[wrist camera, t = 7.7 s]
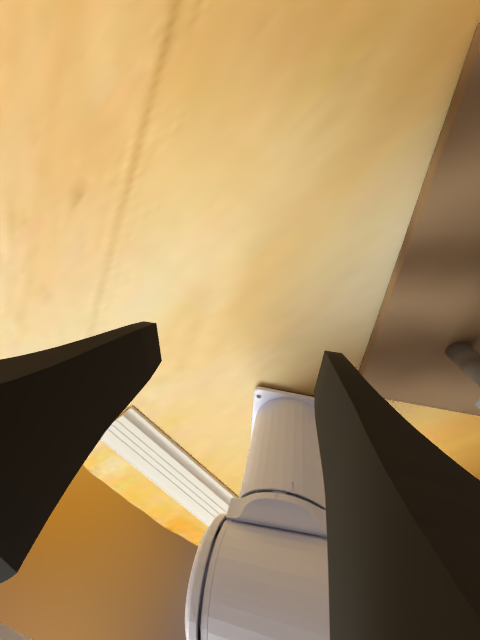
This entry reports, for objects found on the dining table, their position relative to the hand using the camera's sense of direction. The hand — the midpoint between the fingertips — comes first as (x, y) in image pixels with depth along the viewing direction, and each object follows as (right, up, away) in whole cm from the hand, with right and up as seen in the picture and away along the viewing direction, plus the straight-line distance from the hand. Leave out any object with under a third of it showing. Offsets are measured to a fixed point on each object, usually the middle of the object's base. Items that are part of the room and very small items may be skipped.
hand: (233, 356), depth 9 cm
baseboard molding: (-7, -23, +25) cm, 35 cm away
